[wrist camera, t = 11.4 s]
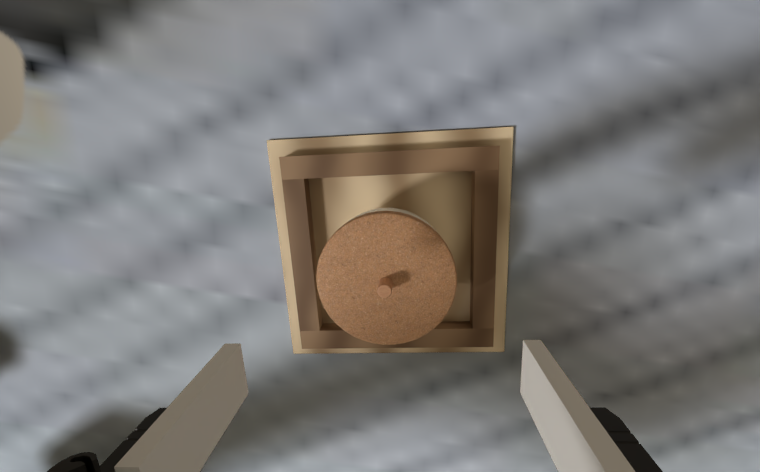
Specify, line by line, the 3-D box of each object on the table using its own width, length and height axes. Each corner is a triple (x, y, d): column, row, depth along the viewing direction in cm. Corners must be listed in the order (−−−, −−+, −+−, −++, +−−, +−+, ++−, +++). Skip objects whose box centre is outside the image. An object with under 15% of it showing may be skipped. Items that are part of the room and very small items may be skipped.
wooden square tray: (294, 351, 38) (289, 361, 36) (268, 140, 32) (260, 140, 30) (503, 350, 36) (508, 360, 34) (512, 127, 31) (518, 125, 29)
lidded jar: (319, 215, 33) (288, 240, 24) (429, 183, 32) (439, 197, 23) (353, 314, 36) (337, 371, 27) (457, 289, 34) (476, 340, 25)
